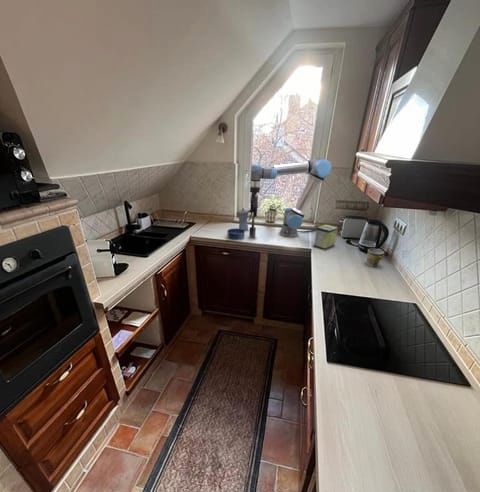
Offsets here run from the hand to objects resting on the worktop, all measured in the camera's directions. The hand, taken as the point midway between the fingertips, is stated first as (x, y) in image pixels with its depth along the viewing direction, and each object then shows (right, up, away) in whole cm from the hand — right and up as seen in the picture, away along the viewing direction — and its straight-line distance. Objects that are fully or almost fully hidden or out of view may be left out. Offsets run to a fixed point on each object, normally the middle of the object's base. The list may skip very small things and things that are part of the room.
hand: (253, 214), depth 206 cm
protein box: (+57, -26, -1) cm, 63 cm away
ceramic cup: (+81, -45, -31) cm, 98 cm away
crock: (0, -17, +10) cm, 20 cm away
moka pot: (-7, -7, +29) cm, 30 cm away
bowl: (-14, -17, +10) cm, 24 cm away
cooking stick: (0, -17, +10) cm, 19 cm away
